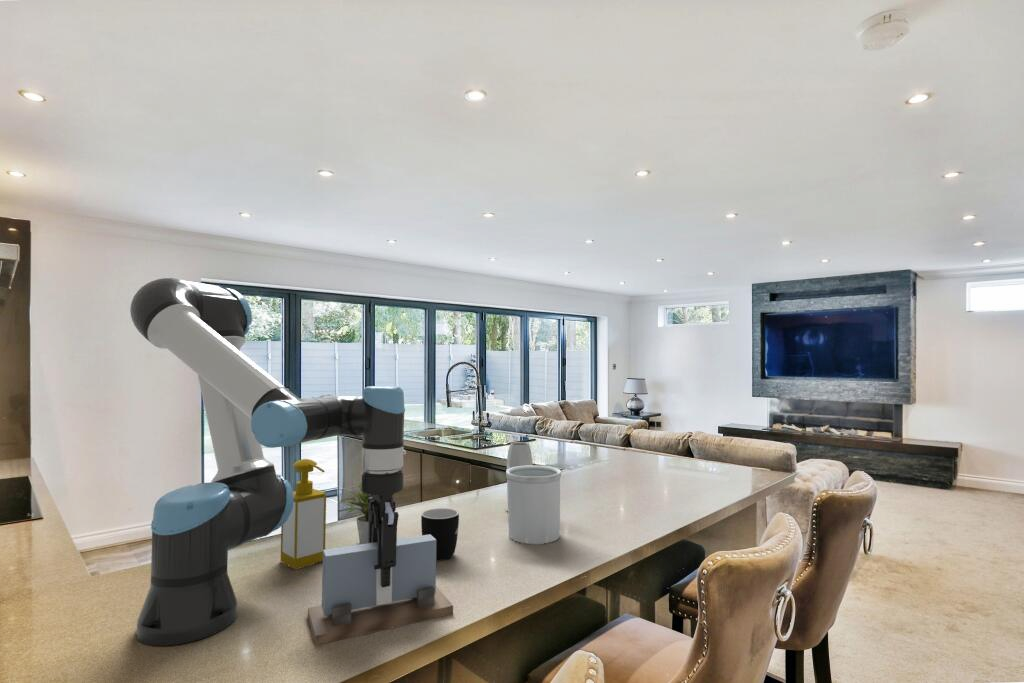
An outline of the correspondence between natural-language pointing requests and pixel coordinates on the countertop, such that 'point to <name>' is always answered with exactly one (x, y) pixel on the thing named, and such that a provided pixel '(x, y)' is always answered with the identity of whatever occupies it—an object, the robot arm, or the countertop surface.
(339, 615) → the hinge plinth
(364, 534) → the house plant
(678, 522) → the countertop surface
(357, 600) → the door panel
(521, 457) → the wineglass
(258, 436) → the robot arm
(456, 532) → the mug
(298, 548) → the soap bottle
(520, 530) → the utensil holder
